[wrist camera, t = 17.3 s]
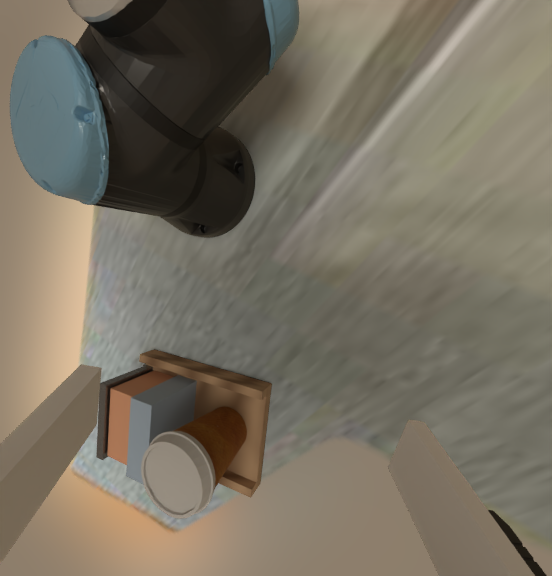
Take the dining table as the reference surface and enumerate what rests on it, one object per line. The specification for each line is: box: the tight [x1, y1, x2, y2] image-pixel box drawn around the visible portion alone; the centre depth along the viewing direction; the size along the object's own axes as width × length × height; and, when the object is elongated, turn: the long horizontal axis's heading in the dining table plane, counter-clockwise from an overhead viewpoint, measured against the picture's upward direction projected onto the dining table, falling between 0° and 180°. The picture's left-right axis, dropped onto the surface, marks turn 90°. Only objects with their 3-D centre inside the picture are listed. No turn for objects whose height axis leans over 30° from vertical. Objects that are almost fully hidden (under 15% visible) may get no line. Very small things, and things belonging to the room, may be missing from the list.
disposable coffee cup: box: [141, 407, 247, 519], centre depth 40 cm, size 10×10×12 cm
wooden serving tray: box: [140, 350, 272, 497], centre depth 47 cm, size 22×15×3 cm
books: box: [107, 370, 197, 485], centre depth 45 cm, size 8×11×9 cm
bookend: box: [97, 364, 153, 460], centre depth 47 cm, size 2×11×8 cm, turn 173°
